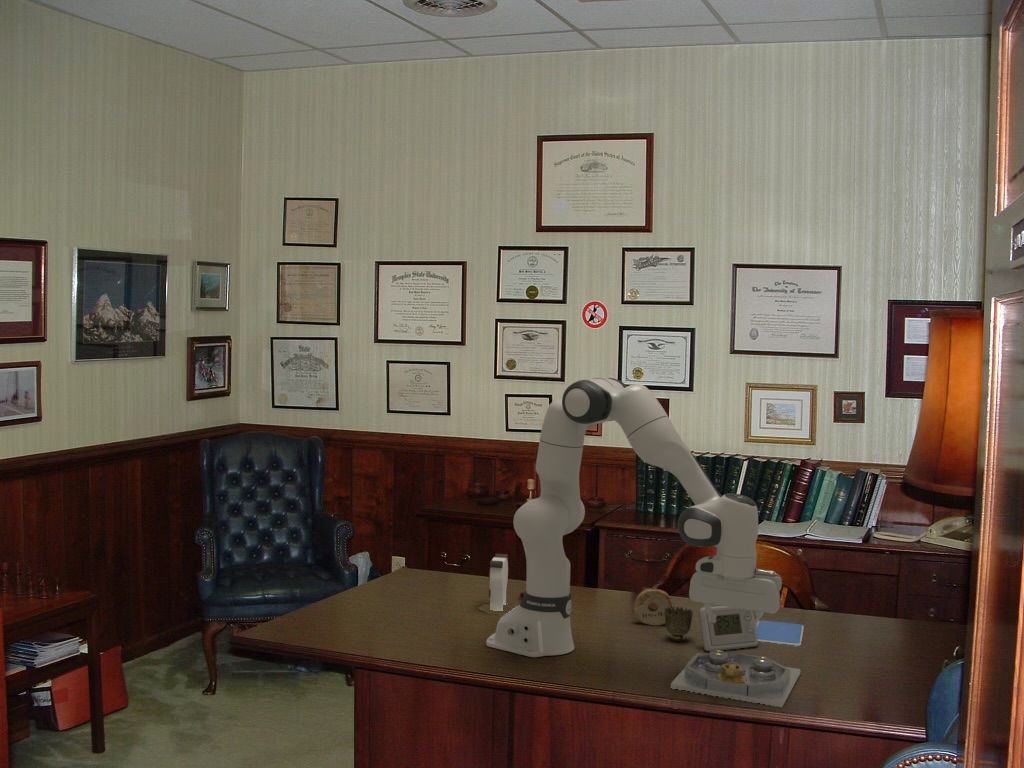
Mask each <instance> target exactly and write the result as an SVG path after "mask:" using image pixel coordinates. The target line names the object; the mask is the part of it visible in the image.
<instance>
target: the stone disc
mask: <svg viewBox="0 0 1024 768" xmlns="http://www.w3.org/2000/svg"><path fill="white" fill-rule="evenodd" d="M672 603H673V602H672V600H671V597H670V595H669V594H668V593H667V592H666V591H664V590H662V589H659V588H646V589H643V590H642V591H640V593H639V594H638V595H637V597H636V598H635V603H634V608H633V609H634V614H635V616H636V618H637V619H638V621H640V622H641V623H642V624H645V625H649V626H652V625H653V626H663V625H664V624H665V608H666V609H667V607H670V608H671V609H672V607H673V604H672ZM650 604H656V605H657V608H655V609H653V608H652V607H650Z"/></svg>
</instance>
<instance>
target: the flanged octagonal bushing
mask: <svg viewBox="0 0 1024 768" xmlns="http://www.w3.org/2000/svg"><path fill="white" fill-rule="evenodd" d="M729 664H730V663H729ZM729 664H723V665H722V667H721V673H719V674H718V675H717V677H716V679H719V680H725V681H731V682H737V683H743V684H747V678H746V677H744V676H742V667H741V666H740V665H738V664H736V669H729Z"/></svg>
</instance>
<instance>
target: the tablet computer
mask: <svg viewBox="0 0 1024 768" xmlns="http://www.w3.org/2000/svg"><path fill="white" fill-rule="evenodd" d="M804 626H805V625H803V624H799V623H790V622H779V621H771V620H762V619H761V620H760V619H759V621H758V624H757V630H756V633H757V639H758V641H760V642H759V643H763V642H770V643H769V644H771V643H777V644H776V645H780V644H787V645H786V646H788V645H794V646H793V647H797V646H800V645H801V646H802V643H803V636H804V629H805V627H804ZM801 642H802V643H801ZM801 646H800V647H801Z"/></svg>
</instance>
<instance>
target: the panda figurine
mask: <svg viewBox="0 0 1024 768" xmlns="http://www.w3.org/2000/svg"><path fill="white" fill-rule="evenodd" d="M508 559H509V554H507V553H495V556H493V558H492V559H491V560H490V562H489V572H488V580H489V581H488V582H489V589H488V598H489V603H490V610H493V611H503V605H506V603H507V586H508V585H507V584H508V576H509V562H508V561H509V560H508Z"/></svg>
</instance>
